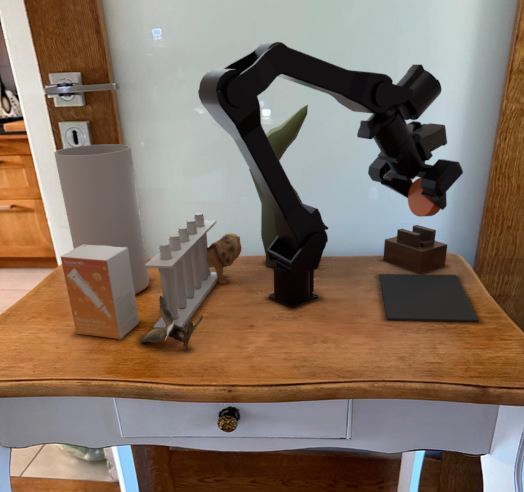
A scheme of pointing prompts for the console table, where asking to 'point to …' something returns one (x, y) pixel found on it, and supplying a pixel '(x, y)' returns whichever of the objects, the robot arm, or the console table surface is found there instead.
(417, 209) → the disc
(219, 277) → the lion figurine
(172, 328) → the eagle figurine
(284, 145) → the tentacle
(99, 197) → the cylinder vase
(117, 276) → the small box
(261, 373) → the console table surface
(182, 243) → the test tube rack
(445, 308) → the mat
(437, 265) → the brown notched block
